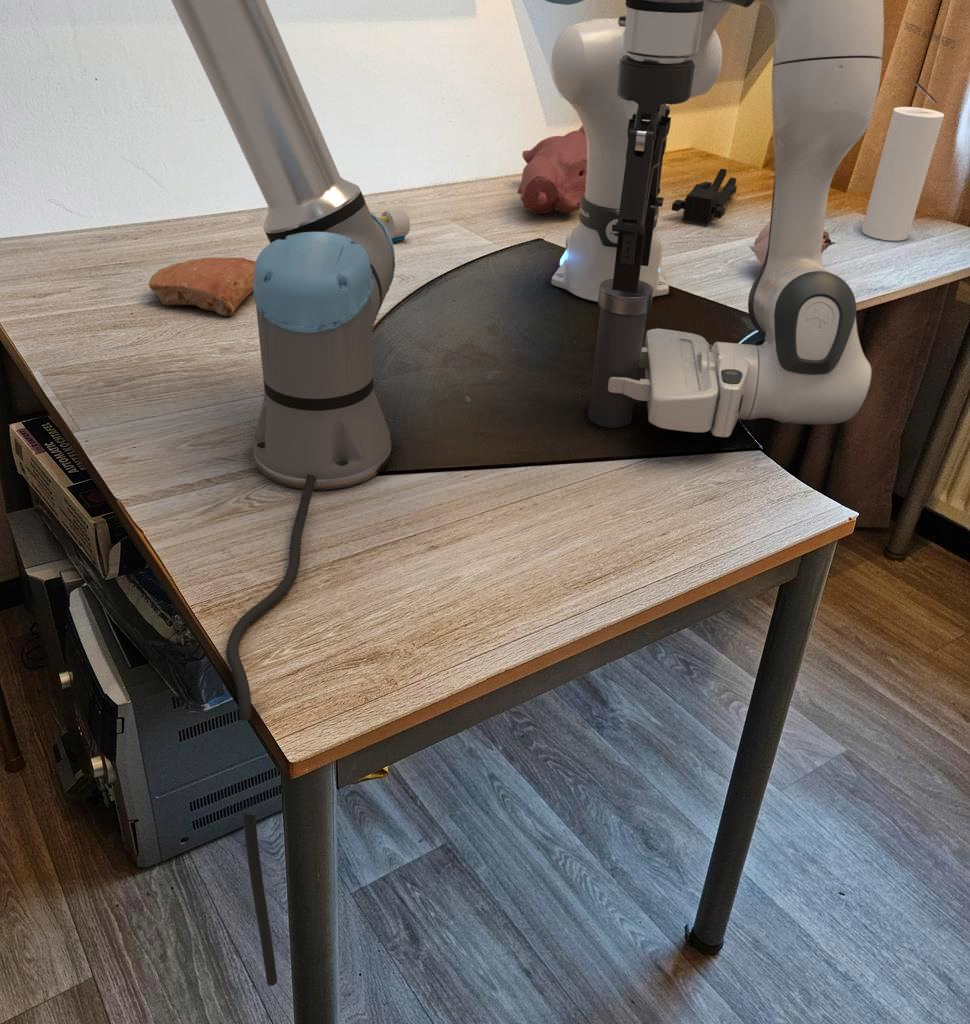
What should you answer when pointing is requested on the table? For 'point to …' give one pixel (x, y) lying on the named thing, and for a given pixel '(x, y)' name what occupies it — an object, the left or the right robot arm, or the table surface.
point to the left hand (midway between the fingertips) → (630, 276)
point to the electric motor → (396, 224)
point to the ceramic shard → (205, 283)
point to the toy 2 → (763, 239)
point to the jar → (615, 366)
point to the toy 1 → (706, 200)
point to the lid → (625, 299)
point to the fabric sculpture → (555, 173)
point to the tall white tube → (902, 168)
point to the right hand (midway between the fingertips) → (608, 370)
